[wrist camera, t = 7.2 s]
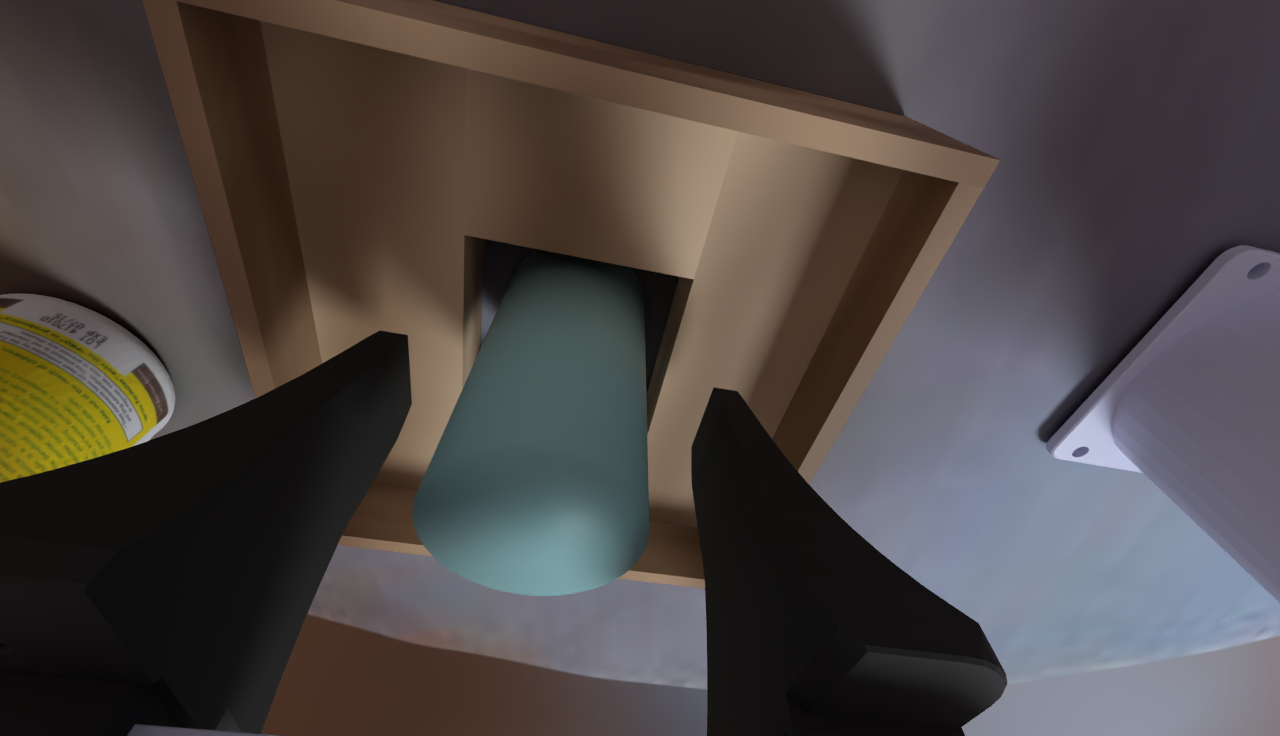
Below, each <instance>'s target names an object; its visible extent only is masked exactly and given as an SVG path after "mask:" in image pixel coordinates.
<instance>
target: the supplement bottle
mask: <svg viewBox="0 0 1280 736" xmlns="http://www.w3.org/2000/svg"><path fill="white" fill-rule="evenodd" d="M174 406H175V391H174V387H173V384H172V381H171V378H170V376H169V374H168V372H167V370H166V369H165V367H164V366H163V364H162V363H161V361H160V360H159V359H158V357H157V356H156V355H155V354H154V353H153V352H152V351H151V350H150V349H149V348H148V347H147V346H146V345H145V344H144V343H143V342H142V341H141V340H139V339H138V338H137V337H136V336H134V335H133V334H132V333H131V332H129V331H128V330H126V329H125V328H123V327H122V326H120V325H119V324H117V323H115V322H114V321H112V320H110V319H109V318H107V317H105V316H103V315H101V314H99V313H97V312H95V311H92V310H90V309H88V308H86V307H83V306H80V305H78V304H75V303H72V302H68V301H65V300H62V299H58V298H54V297H49V296H44V295H36V294H20V293H17V294H3V295H0V482H5V481H9V480H13V479H17V478H22V477H26V476H30V475H34V474H38V473H42V472H46V471H50V470H54V469H57V468H61V467H65V466H68V465H72V464H75V463H79V462H82V461H86V460H90V459H93V458H97V457H100V456H103V455H106V454H110V453H113V452H116V451H120V450H123V449H126V448H129V447H132V446H135V445H138V444H141V443H144V442H147V441H150V440H151V439H152V438H153V437H154V436H155V435H156V434H157V433H158V432H159V431H160V430H161V429H162V428H163V427H164V426H165V425H166V423H167V422H168V421H169V419H170V417H171V416H172V413H173V411H174Z"/></svg>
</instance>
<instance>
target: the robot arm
mask: <svg viewBox="0 0 1280 736" xmlns="http://www.w3.org/2000/svg"><path fill="white" fill-rule="evenodd" d="M411 405H412V396H411V379H410V363H409V347H408V335H404V334H399V333H393V332H387V331H381V330H380V331H378V332H376V333H374V334H372V335H370V336H369V337H367V338H365V339H363V340H362V341H360V342H358V343H357V344H355V345H353V346H352V347H350V348H348V349H346V350H345V351H343V352H341V353H340V354H338V355H336V356H334V357H333V358H331V359H329V360H327V361H326V362H324V363H322V364H320V365H319V366H317V367H315V368H313V369H312V370H310V371H308V372H306V373H304V374H303V375H301V376H299V377H297V378H295V379H293V380H291V381H289V382H287V383H285V384H283V385H281V386H279V387H277V388H275V389H273V390H271V391H269V392H267V393H266V394H264V395H262V396H260V397H258V398H256V399H253V400H251V401H249V402H247V403H245V404H243V405H240V406H238V407H236V408H234V409H231V410H229V411H227V412H224V413H222V414H219V415H217V416H214V417H212V418H210V419H207V420H205V421H202V422H200V423H197V424H195V425H192V426H189V427H187V428H184V429H181V430H178V431H175V432H172V433H169V434H167V435H164V436H161V437H158V438H155V439H152V440H150V441H147V442H144V443H141V444H138V445H135V446H132V447H129V448H126V449H123V450H120V451H116V452H113V453H110V454H106V455H103V456H100V457H97V458H93V459H90V460H86V461H82V462H79V463H75V464H72V465H68V466H65V467H61V468H57V469H54V470H50V471H46V472H42V473H38V474H34V475H30V476H26V477H22V478H17V479H13V480H9V481H5V482H0V736H278V735H266V734H261V731H262V729H263V726H264V723H265V720H266V718H267V715H268V712H269V710H270V707H271V704H272V702H273V699H274V696H275V693H276V691H277V688H278V685H279V682H280V680H281V677H282V675H283V672H284V670H285V667H286V665H287V662H288V660H289V657H290V655H291V652H292V650H293V647H294V645H295V642H296V640H297V637H298V635H299V632H300V629H301V627H302V624H303V622H304V620H305V617H306V615H307V613H308V611H309V608H310V606H311V603H312V601H313V599H314V596H315V594H316V592H317V589H318V587H319V585H320V582H321V580H322V578H323V576H324V573H325V571H326V569H327V567H328V565H329V562H330V560H331V558H332V556H333V554H334V551H335V549H336V547H337V545H338V543H339V540H340V538H341V537H342V535H343V533H344V531H345V529H346V527H347V525H348V523H349V521H350V520H351V518H352V516H353V515H354V513H355V511H356V510H357V508H358V506H359V504H360V503H361V501H362V499H363V498H364V496H365V494H366V493H367V491H368V489H369V488H370V486H371V484H372V482H373V481H374V479H375V477H376V476H377V474H378V472H379V471H380V469H381V467H382V465H383V464H384V462H385V460H386V459H387V457H388V455H389V453H390V452H391V450H392V448H393V446H394V445H395V443H396V441H397V439H398V437H399V434H400V432H401V430H402V427H403V425H404V422H405V420H406V417H407V415H408V412H409V410H410V407H411ZM1046 449H1047V451H1048V452H1049V453H1050V454H1051V455H1052V456H1053V457H1054V458H1057V459H1062V460H1068V461H1074V462H1080V463H1086V464H1092V465H1098V466H1104V467H1110V468H1116V469H1122V470H1128V471H1134V472H1140V473H1144V474H1145V475H1146V476H1147V477H1148V478H1149V479H1150V480H1151V481H1152V482H1153V483H1154V484H1155V485H1156V486H1157V487H1158V488H1159V489H1160V490H1161V491H1162V492H1163V493H1165V494H1166V495H1167V496H1168V497H1169V498H1170V499H1171V500H1172V501H1173V502H1174V503H1175V504H1176V505H1177V506H1178V507H1179V508H1180V509H1181V510H1182V511H1183V512H1184V513H1186V514H1187V515H1188V516H1189V517H1190V518H1191V519H1192V520H1193V521H1194V522H1195V523H1196V524H1197V525H1198V526H1199V527H1200V528H1201V529H1202V530H1203V531H1204V532H1205V533H1207V534H1208V535H1209V536H1210V537H1211V538H1212V539H1213V540H1214V541H1215V542H1216V543H1217V544H1218V545H1219V546H1220V547H1221V548H1222V549H1223V550H1224V551H1225V552H1226V553H1228V554H1229V555H1230V556H1231V557H1232V558H1233V559H1234V560H1235V561H1236V562H1237V563H1238V564H1239V565H1240V566H1241V567H1242V568H1243V569H1244V570H1245V571H1246V572H1247V573H1249V574H1250V575H1251V576H1252V577H1253V578H1254V579H1255V580H1256V581H1257V582H1258V583H1259V584H1260V585H1261V586H1262V587H1263V588H1264V589H1265V590H1266V591H1267V592H1269V593H1270V594H1271V595H1272V596H1273V597H1274V598H1275V599H1276V600H1277V601H1278V602H1279V603H1280V253H1278V252H1273V251H1269V250H1265V249H1261V248H1256V247H1252V246H1248V245H1240V246H1237V247H1233V248H1230V249H1229V250H1227V251H1225V252H1223V253H1222V254H1221V255H1220V256H1218V257H1217V258H1216V259H1215V260H1214V261H1213V262H1212V264H1211V265H1210V266H1209V267H1208V268H1207V269H1206V270H1205V271H1204V272H1203V273H1202V274H1201V275H1200V277H1199V278H1198V279H1197V280H1196V281H1195V282H1194V283H1193V284H1192V285H1191V286H1190V287H1189V289H1188V290H1187V291H1186V292H1185V293H1184V294H1183V295H1182V296H1181V297H1180V298H1179V299H1178V300H1177V302H1176V303H1175V304H1174V305H1173V306H1172V307H1171V308H1170V309H1169V310H1168V311H1167V312H1166V314H1165V315H1164V316H1163V317H1162V318H1161V319H1160V320H1159V321H1158V322H1157V323H1156V324H1155V325H1154V327H1153V328H1152V329H1151V330H1150V331H1149V332H1148V333H1147V334H1146V335H1145V336H1144V337H1143V339H1142V340H1141V341H1140V342H1139V343H1138V344H1137V345H1136V346H1135V347H1134V348H1133V349H1132V350H1131V352H1130V353H1129V354H1128V355H1127V356H1126V357H1125V358H1124V359H1123V360H1122V361H1121V362H1120V364H1119V365H1118V366H1117V367H1116V368H1115V369H1114V370H1113V371H1112V372H1111V373H1110V374H1109V375H1108V377H1107V378H1106V379H1105V380H1104V381H1103V382H1102V383H1101V384H1100V385H1099V386H1098V387H1097V389H1096V390H1095V391H1094V392H1093V393H1092V394H1091V395H1090V396H1089V397H1088V398H1087V399H1086V400H1085V402H1084V403H1083V404H1082V405H1081V406H1080V407H1079V408H1078V409H1077V410H1076V411H1075V412H1074V414H1073V415H1072V416H1071V417H1070V418H1069V419H1068V420H1067V421H1066V422H1065V423H1064V424H1063V425H1062V427H1061V428H1060V429H1059V430H1058V431H1057V432H1056V433H1055V434H1054V435H1053V436H1052V437H1051V439H1050V440H1049V441H1048V443H1047V444H1046ZM691 476H692V490H693V498H694V505H695V512H696V519H697V526H698V533H699V540H700V547H701V554H702V561H703V568H704V579H705V595H706V620H707V670H708V716H707V736H965V735H964V732H963V730H962V728H961V727H962V726H963V725H965V724H966V723H967V722H969V721H970V720H972V719H973V718H975V717H976V716H977V715H979V714H980V713H982V712H983V711H985V710H986V709H987V708H989V707H990V706H991V705H992V704H994V703H995V702H996V701H997V700H998V699H999V698H1000V697H1001V695H1002V693H1003V691H1004V689H1005V687H1006V685H1007V678H1006V673H1005V672H1004V670H1003V668H1002V666H1001V664H1000V662H999V660H998V658H997V657H996V655H995V653H994V651H993V649H992V647H991V645H990V644H989V642H988V640H987V638H986V636H985V634H984V632H983V631H982V629H981V627H980V625H979V624H978V623H977V622H976V621H974V620H973V619H971V618H970V617H968V616H967V615H965V614H964V613H962V612H961V611H959V610H958V609H956V608H955V607H953V606H952V605H950V604H949V603H947V602H946V601H944V600H943V599H941V598H940V597H938V596H937V595H935V594H934V593H932V592H931V591H930V590H928V589H927V588H925V587H924V586H923V585H921V584H920V583H919V582H917V581H916V580H915V579H913V578H912V577H911V576H909V575H908V574H907V573H905V572H904V571H903V570H901V569H900V568H899V567H897V566H896V565H895V564H894V563H892V562H891V561H890V560H889V559H887V558H886V557H885V556H884V555H882V554H881V553H880V552H879V551H878V550H876V549H875V548H874V547H873V546H872V545H871V544H869V543H868V542H867V541H866V540H865V539H864V538H863V537H861V536H860V535H859V534H858V533H857V532H856V531H855V530H853V529H852V528H851V527H850V526H849V525H848V524H847V523H846V522H845V521H844V520H843V519H842V518H841V517H840V516H839V515H838V514H837V513H836V512H835V511H834V510H833V509H832V508H831V507H830V506H829V505H828V504H827V503H826V502H825V501H824V500H823V499H822V498H821V497H820V496H819V495H818V494H817V493H816V492H815V491H814V490H813V489H812V487H811V486H810V485H809V484H808V483H807V482H806V481H805V479H804V478H803V477H802V476H801V475H800V474H799V472H798V471H797V470H796V469H795V468H794V467H793V465H792V464H791V463H790V462H789V460H788V459H787V458H786V457H785V455H784V454H783V453H782V451H781V450H780V449H779V448H778V446H777V445H776V444H775V442H774V441H773V440H772V438H771V437H770V436H769V434H768V433H767V431H766V430H765V429H764V427H763V426H762V425H761V423H760V422H759V420H758V419H757V418H756V416H755V415H754V413H753V412H752V410H751V409H750V408H749V406H748V405H747V403H746V402H745V400H744V399H743V398H742V396H741V395H740V394H739V392H738V391H733V390H727V389H721V388H715V387H714V388H713V390H712V393H711V396H710V398H709V401H708V404H707V406H706V409H705V412H704V414H703V417H702V420H701V422H700V425H699V428H698V431H697V433H696V436H695V439H694V441H693V444H692V447H691Z"/></svg>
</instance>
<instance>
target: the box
mask: <svg viewBox="0 0 1280 736" xmlns="http://www.w3.org/2000/svg"><path fill="white" fill-rule="evenodd" d="M142 2H143V6H144V9H145V13H146V16H147V20H148V23H149V27H150V30H151V34H152V37H153V41H154V44H155V48H156V51H157V55H158V58H159V62H160V65H161V69H162V72H163V76H164V79H165V82H166V86H167V89H168V93H169V96H170V100H171V103H172V107H173V110H174V114H175V117H176V121H177V124H178V128H179V131H180V135H181V138H182V142H183V145H184V149H185V152H186V156H187V159H188V163H189V166H190V170H191V173H192V177H193V180H194V184H195V187H196V191H197V194H198V198H199V201H200V205H201V208H202V212H203V215H204V219H205V222H206V226H207V229H208V233H209V236H210V240H211V243H212V247H213V250H214V254H215V257H216V261H217V264H218V268H219V271H220V275H221V278H222V281H223V285H224V288H225V292H226V295H227V299H228V302H229V306H230V309H231V313H232V316H233V320H234V323H235V327H236V330H237V334H238V337H239V341H240V344H241V348H242V351H243V355H244V358H245V362H246V365H247V369H248V372H249V376H250V379H251V383H252V386H253V390H254V393H255V397H256V398H258V397H260V396H262V395H264V394H266V393H267V392H269V391H271V390H273V389H275V388H277V387H279V386H281V385H283V384H285V383H287V382H289V381H291V380H293V379H295V378H297V377H299V376H301V375H303V374H304V373H306V372H308V371H310V370H312V369H313V368H315V367H317V366H319V365H320V364H322V363H324V362H326V361H327V360H329V359H331V358H333V357H334V356H336V355H338V354H340V353H341V352H343V351H345V350H346V349H348V348H350V347H352V346H353V345H355V344H357V343H358V342H360V341H362V340H363V339H365V338H367V337H369V336H370V335H372V334H374V333H376V332H378V331H380V330H381V331H387V332H393V333H399V334H404V335H408V347H409V363H410V379H411V396H412V405H411V407H410V410H409V412H408V415H407V417H406V420H405V422H404V425H403V427H402V430H401V432H400V434H399V437H398V439H397V441H396V443H395V445H394V446H393V448H392V450H391V452H390V453H389V455H388V457H387V459H386V460H385V462H384V464H383V465H382V467H381V469H380V471H379V472H378V474H377V476H376V477H375V479H374V481H373V482H372V484H371V486H370V488H369V489H368V491H367V493H366V494H365V496H364V498H363V499H362V501H361V503H360V504H359V506H358V508H357V510H356V511H355V513H354V515H353V516H352V518H351V520H350V521H349V523H348V525H347V527H346V529H345V531H344V533H343V535H342V537H341V538H340V540H339V543H338V545H343V546H351V547H360V548H368V549H376V550H385V551H393V552H401V553H410V554H418V555H427V556H432V555H431V554H430V553H429V551H428V550H427V549H426V548H425V547H424V545H423V544H422V542H421V541H420V539H419V537H418V535H417V533H416V530H415V528H414V524H413V519H412V507H413V502H414V498H415V496H416V493H417V491H418V489H419V486H420V484H421V482H422V480H423V477H424V475H425V473H426V471H427V468H428V466H429V464H430V462H431V459H432V457H433V455H434V453H435V450H436V448H437V446H438V444H439V441H440V439H441V437H442V434H443V432H444V430H445V428H446V425H447V423H448V421H449V419H450V416H451V414H452V412H453V410H454V407H455V405H456V403H457V401H458V398H459V396H460V394H461V392H462V389H463V387H464V385H465V382H466V380H467V378H468V376H469V373H470V371H471V369H472V367H473V364H474V362H475V360H476V358H477V355H478V353H479V351H480V335H481V308H482V280H483V252H484V239H487V240H493V241H498V242H503V243H508V244H513V245H518V246H524V247H529V248H534V249H539V250H544V251H549V252H555V253H560V254H565V255H570V256H575V257H580V258H586V259H591V260H596V261H601V262H606V263H611V264H617V265H622V266H627V267H632V268H637V269H642V270H647V271H653V272H658V273H663V274H668V275H673V276H678V277H679V280H678V284H677V287H676V291H675V294H674V298H673V301H672V305H671V309H670V312H669V316H668V319H667V323H666V327H665V330H664V334H663V337H662V341H661V345H660V348H659V352H658V355H657V359H656V362H655V366H654V370H653V373H652V377H651V380H650V384H649V388H648V391H647V395H646V396H647V442H648V488H649V539H648V543H647V546H646V548H645V551H644V553H643V554H642V556H641V557H640V559H639V560H638V562H637V563H636V564H635V565H634V566H633V567H632V568H631V569H630V570H628V571H627V572H626V573H625V574H623V575H622V576H620V577H619V579H628V580H636V581H645V582H653V583H661V584H670V585H678V586H686V587H695V588H703V589H705V579H704V568H703V561H702V554H701V547H700V540H699V533H698V526H697V519H696V512H695V505H694V498H693V490H692V476H691V447H692V444H693V441H694V439H695V436H696V433H697V431H698V428H699V425H700V422H701V420H702V417H703V414H704V412H705V409H706V406H707V404H708V401H709V398H710V396H711V393H712V390H713V388H714V387H715V388H721V389H727V390H733V391H738V392H739V394H740V395H741V396H742V398H743V399H744V400H745V402H746V403H747V405H748V406H749V408H750V409H751V410H752V412H753V413H754V415H755V416H756V418H757V419H758V420H759V422H760V423H761V425H762V426H763V427H764V429H765V430H766V431H767V433H768V434H769V436H770V437H771V438H772V440H773V441H774V442H775V444H776V445H777V446H778V448H779V449H780V450H781V451H782V453H783V454H784V455H785V457H786V458H787V459H788V460H789V462H790V463H791V464H792V465H793V467H794V468H795V469H796V470H797V471H798V472H799V474H800V475H801V476H802V477H803V478H804V479H805V481H806V482H807V483H808V484H810V482H811V481H812V479H813V477H814V476H815V474H816V472H817V471H818V469H819V467H820V465H821V464H822V462H823V460H824V459H825V457H826V455H827V454H828V452H829V450H830V448H831V447H832V445H833V443H834V442H835V440H836V438H837V437H838V435H839V433H840V432H841V430H842V428H843V426H844V425H845V423H846V421H847V420H848V418H849V416H850V415H851V413H852V411H853V410H854V408H855V406H856V404H857V403H858V401H859V399H860V398H861V396H862V394H863V393H864V391H865V389H866V387H867V386H868V384H869V382H870V381H871V379H872V377H873V376H874V374H875V372H876V371H877V369H878V367H879V365H880V364H881V362H882V360H883V359H884V357H885V355H886V354H887V352H888V350H889V348H890V347H891V345H892V343H893V342H894V340H895V338H896V337H897V335H898V333H899V332H900V330H901V328H902V326H903V325H904V323H905V321H906V320H907V318H908V316H909V315H910V313H911V311H912V310H913V308H914V306H915V304H916V303H917V301H918V299H919V298H920V296H921V294H922V293H923V291H924V289H925V287H926V286H927V284H928V282H929V281H930V279H931V277H932V276H933V274H934V272H935V271H936V269H937V267H938V265H939V264H940V262H941V260H942V259H943V257H944V255H945V254H946V252H947V250H948V249H949V247H950V245H951V243H952V242H953V240H954V238H955V237H956V235H957V233H958V232H959V230H960V228H961V226H962V225H963V223H964V221H965V220H966V218H967V216H968V215H969V213H970V211H971V210H972V208H973V206H974V204H975V203H976V201H977V199H978V198H979V196H980V194H981V193H982V191H983V189H984V187H985V186H986V184H987V182H988V181H989V179H990V177H991V176H992V174H993V172H994V171H995V169H996V167H997V165H998V164H999V162H1000V160H999V159H997V158H995V157H992V156H990V155H988V154H986V153H984V152H982V151H979V150H977V149H975V148H973V147H971V146H969V145H966V144H964V143H962V142H960V141H958V140H956V139H953V138H951V137H949V136H947V135H945V134H943V133H940V132H938V131H936V130H934V129H932V128H930V127H927V126H925V125H923V124H921V123H919V122H917V121H914V120H912V119H910V118H908V117H906V116H901V115H897V114H893V113H889V112H885V111H881V110H877V109H873V108H869V107H865V106H861V105H857V104H853V103H849V102H844V101H840V100H836V99H832V98H828V97H824V96H820V95H816V94H812V93H808V92H804V91H800V90H796V89H792V88H787V87H783V86H779V85H775V84H771V83H767V82H763V81H759V80H755V79H751V78H747V77H743V76H739V75H735V74H730V73H726V72H722V71H718V70H714V69H710V68H706V67H702V66H698V65H694V64H690V63H686V62H682V61H678V60H673V59H669V58H665V57H661V56H657V55H653V54H649V53H645V52H641V51H637V50H633V49H629V48H625V47H621V46H616V45H612V44H608V43H604V42H600V41H596V40H592V39H588V38H584V37H580V36H576V35H572V34H568V33H564V32H559V31H555V30H551V29H547V28H543V27H539V26H535V25H531V24H527V23H523V22H519V21H515V20H511V19H507V18H502V17H498V16H494V15H490V14H486V13H482V12H478V11H474V10H470V9H466V8H462V7H458V6H454V5H449V4H445V3H441V2H437V1H433V0H142Z"/></svg>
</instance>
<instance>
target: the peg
mask: <svg viewBox="0 0 1280 736" xmlns="http://www.w3.org/2000/svg"><path fill="white" fill-rule="evenodd" d="M412 519H413V524H414V528H415V530H416V533H417V535H418V537H419V539H420V541H421V542H422V544H423V545H424V547H425V548H426V549H427V550H428V551H429V553H430V554H431V555H432V556H433V557H434V558H436V559H437V560H438V561H439V562H440V563H441V564H443V565H444V566H445V567H447V568H448V569H450V570H451V571H453V572H455V573H456V574H458V575H460V576H462V577H464V578H466V579H468V580H470V581H472V582H475V583H477V584H480V585H483V586H485V587H489V588H492V589H496V590H499V591H504V592H509V593H515V594H522V595H534V596H556V595H567V594H573V593H579V592H583V591H587V590H591V589H594V588H597V587H600V586H603V585H605V584H607V583H609V582H612V581H614V580H615V579H617V578H619V577H620V576H622V575H623V574H625V573H626V572H627V571H628V570H630V569H631V568H632V567H633V566H634V565H635V564H636V563H637V562H638V560H639V559H640V557H641V556H642V554H643V553H644V551H645V548H646V546H647V543H648V539H649V488H648V442H647V396H646V350H645V304H644V294H643V290H642V286H641V283H640V281H639V279H638V277H637V275H636V274H635V272H634V271H633V269H632V268H631V267H627V266H622V265H617V264H611V263H606V262H601V261H596V260H591V259H586V258H580V257H575V256H570V255H565V254H560V253H555V252H549V251H544V250H539V249H536V250H534V251H533V252H531V253H530V254H529V255H528V256H526V257H525V258H524V259H523V260H522V262H521V263H520V264H519V265H518V267H517V268H516V270H515V272H514V274H513V276H512V278H511V281H510V283H509V285H508V288H507V290H506V292H505V294H504V297H503V299H502V301H501V303H500V306H499V308H498V310H497V312H496V315H495V317H494V319H493V321H492V324H491V326H490V328H489V330H488V333H487V335H486V337H485V340H484V342H483V344H482V346H481V349H480V351H479V353H478V355H477V358H476V360H475V362H474V364H473V367H472V369H471V371H470V373H469V376H468V378H467V380H466V382H465V385H464V387H463V389H462V392H461V394H460V396H459V398H458V401H457V403H456V405H455V407H454V410H453V412H452V414H451V416H450V419H449V421H448V423H447V425H446V428H445V430H444V432H443V434H442V437H441V439H440V441H439V444H438V446H437V448H436V450H435V453H434V455H433V457H432V459H431V462H430V464H429V466H428V468H427V471H426V473H425V475H424V477H423V480H422V482H421V484H420V486H419V489H418V491H417V493H416V496H415V498H414V502H413V507H412Z"/></svg>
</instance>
